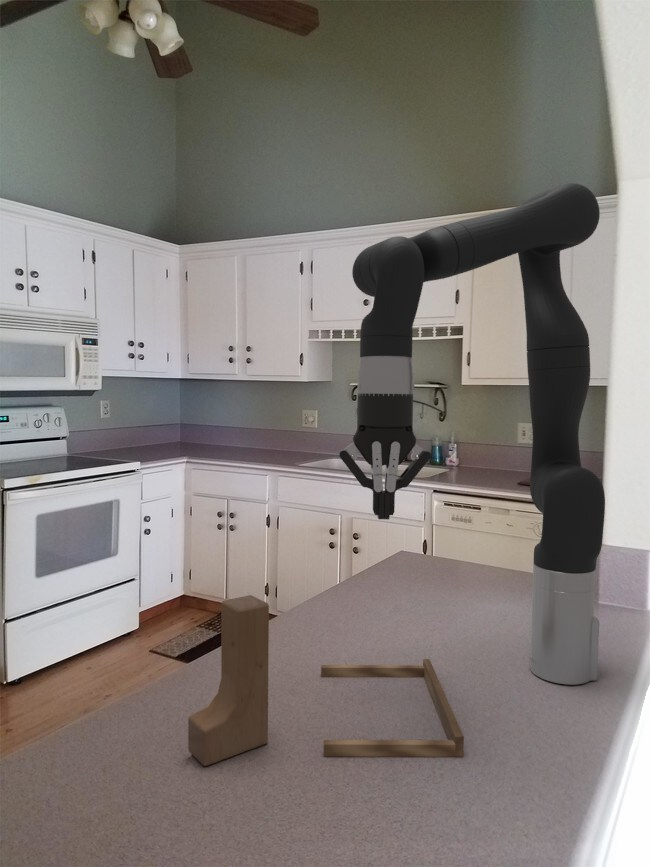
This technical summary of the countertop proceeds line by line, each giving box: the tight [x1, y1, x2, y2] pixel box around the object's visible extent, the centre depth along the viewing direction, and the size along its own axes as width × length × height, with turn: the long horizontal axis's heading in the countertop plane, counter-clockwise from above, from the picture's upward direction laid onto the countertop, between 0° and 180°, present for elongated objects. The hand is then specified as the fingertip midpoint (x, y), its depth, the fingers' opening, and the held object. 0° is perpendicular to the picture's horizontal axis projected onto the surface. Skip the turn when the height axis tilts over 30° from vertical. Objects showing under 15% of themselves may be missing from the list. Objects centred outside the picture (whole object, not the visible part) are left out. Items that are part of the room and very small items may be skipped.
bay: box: [320, 658, 465, 758], centre depth 90 cm, size 17×23×2 cm
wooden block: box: [187, 594, 270, 767], centre depth 79 cm, size 9×4×18 cm, turn 127°
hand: (383, 518), depth 88 cm, fingers closed
